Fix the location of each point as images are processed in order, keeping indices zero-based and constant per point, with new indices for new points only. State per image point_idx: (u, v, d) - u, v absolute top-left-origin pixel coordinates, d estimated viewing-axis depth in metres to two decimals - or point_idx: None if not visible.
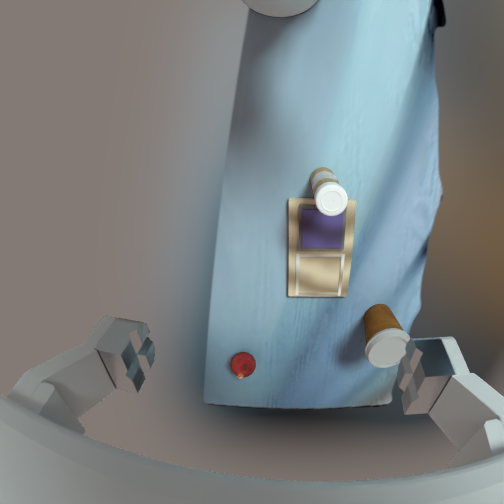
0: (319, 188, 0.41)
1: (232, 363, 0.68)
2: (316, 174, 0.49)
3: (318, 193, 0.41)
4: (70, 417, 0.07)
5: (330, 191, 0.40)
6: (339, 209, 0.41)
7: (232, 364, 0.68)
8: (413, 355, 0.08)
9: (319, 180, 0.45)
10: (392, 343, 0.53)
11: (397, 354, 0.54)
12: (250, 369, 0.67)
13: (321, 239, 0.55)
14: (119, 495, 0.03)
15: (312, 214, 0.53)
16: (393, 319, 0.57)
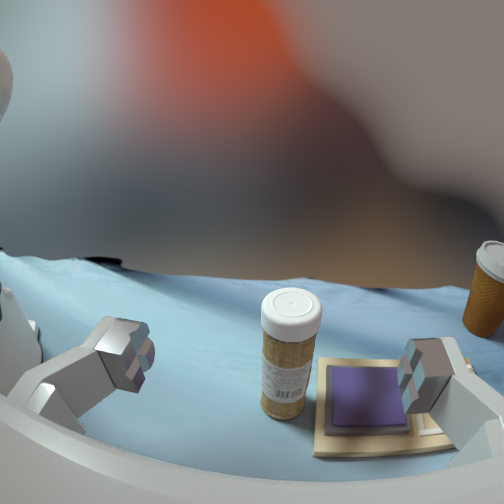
0: (268, 324, 0.22)
1: None
2: (265, 391, 0.26)
3: (276, 319, 0.21)
4: (70, 417, 0.07)
5: (273, 304, 0.23)
6: (308, 295, 0.24)
7: None
8: (413, 355, 0.08)
9: (266, 359, 0.24)
10: (495, 255, 0.32)
11: None
12: None
13: (386, 395, 0.26)
14: (119, 495, 0.03)
15: (342, 409, 0.26)
16: (472, 285, 0.36)
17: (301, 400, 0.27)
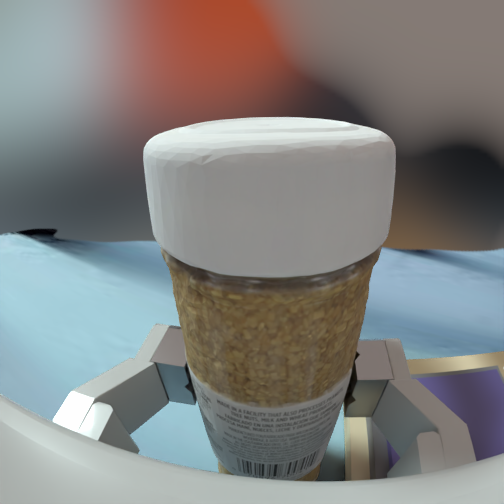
0: (156, 193, 0.04)
1: None
2: (215, 454, 0.09)
3: (179, 145, 0.04)
4: (126, 437, 0.06)
5: (193, 127, 0.05)
6: None
7: None
8: None
9: (191, 369, 0.07)
10: None
11: None
12: None
13: (495, 428, 0.09)
14: (119, 495, 0.03)
15: None
16: None
17: (314, 469, 0.09)
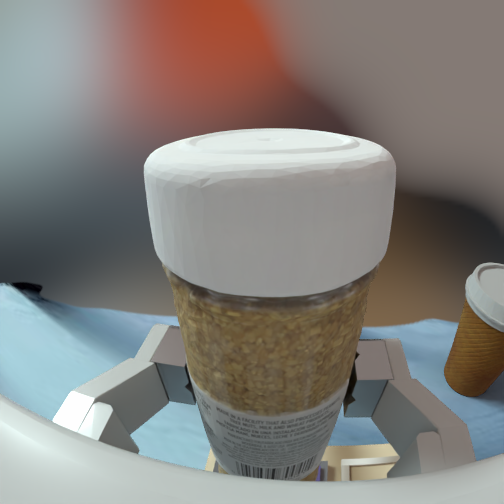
0: (156, 211, 0.05)
1: None
2: (215, 456, 0.09)
3: (178, 166, 0.04)
4: (126, 437, 0.06)
5: (194, 142, 0.05)
6: None
7: None
8: None
9: (192, 376, 0.07)
10: (494, 288, 0.21)
11: None
12: None
13: None
14: (119, 495, 0.03)
15: None
16: (458, 327, 0.25)
17: (312, 473, 0.09)
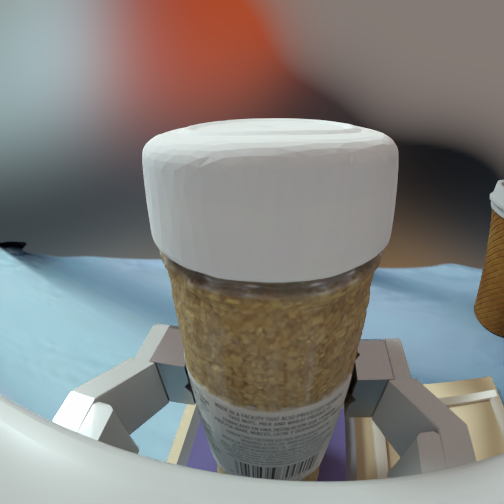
0: (154, 195, 0.04)
1: None
2: (213, 455, 0.09)
3: (176, 147, 0.04)
4: (126, 437, 0.06)
5: (193, 128, 0.05)
6: None
7: None
8: None
9: (189, 371, 0.07)
10: None
11: None
12: None
13: None
14: (119, 495, 0.03)
15: None
16: (487, 251, 0.21)
17: (313, 472, 0.09)
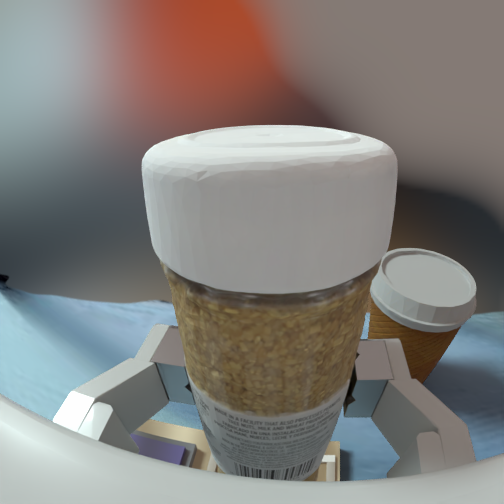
0: (153, 206, 0.04)
1: None
2: (213, 457, 0.09)
3: (175, 160, 0.04)
4: (126, 437, 0.06)
5: (193, 137, 0.05)
6: None
7: None
8: None
9: (190, 376, 0.07)
10: (402, 275, 0.22)
11: (428, 265, 0.23)
12: None
13: None
14: (119, 495, 0.03)
15: None
16: None
17: (312, 475, 0.09)
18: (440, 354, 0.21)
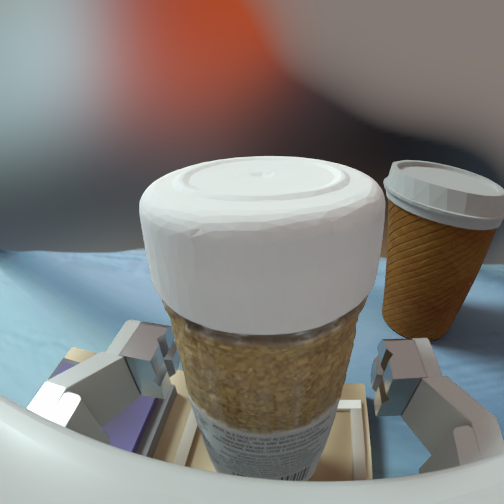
0: (151, 251, 0.05)
1: None
2: (213, 465, 0.09)
3: (170, 213, 0.04)
4: (96, 427, 0.06)
5: (187, 177, 0.06)
6: (323, 163, 0.06)
7: None
8: (384, 356, 0.08)
9: (189, 394, 0.07)
10: (422, 175, 0.18)
11: (447, 174, 0.19)
12: None
13: (108, 431, 0.12)
14: (119, 495, 0.03)
15: None
16: None
17: None
18: (474, 271, 0.17)
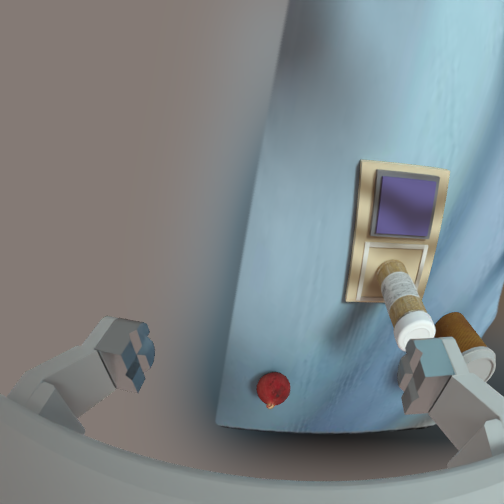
0: (405, 322, 0.29)
1: (260, 388, 0.50)
2: (390, 276, 0.36)
3: (404, 330, 0.28)
4: (70, 417, 0.07)
5: (418, 328, 0.28)
6: None
7: (260, 389, 0.49)
8: (413, 355, 0.08)
9: (399, 297, 0.32)
10: (477, 366, 0.33)
11: None
12: (284, 396, 0.48)
13: (403, 222, 0.35)
14: (119, 495, 0.03)
15: (395, 184, 0.33)
16: (475, 333, 0.37)
17: None
18: None
